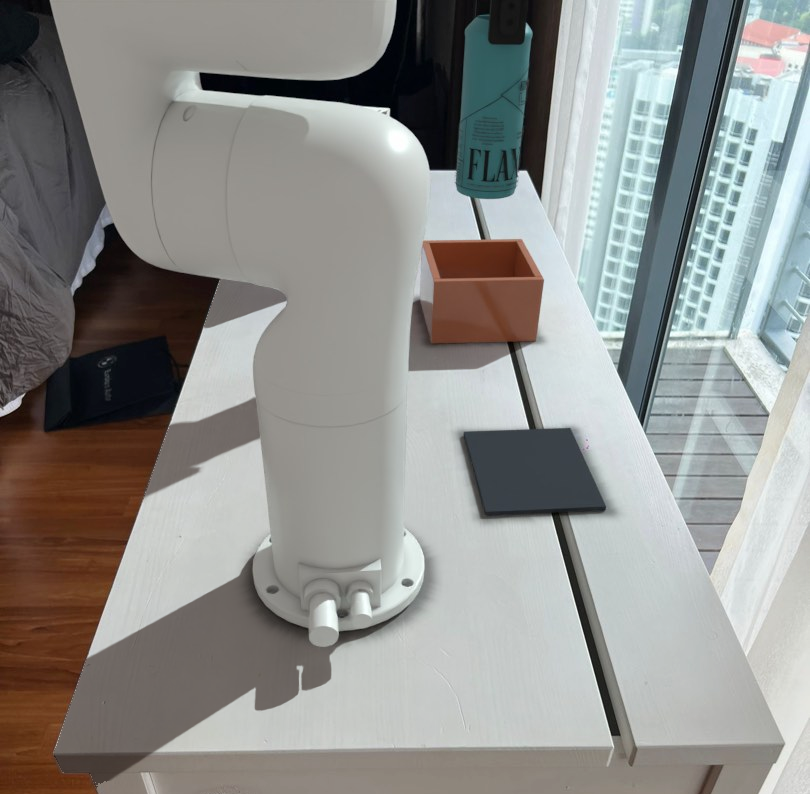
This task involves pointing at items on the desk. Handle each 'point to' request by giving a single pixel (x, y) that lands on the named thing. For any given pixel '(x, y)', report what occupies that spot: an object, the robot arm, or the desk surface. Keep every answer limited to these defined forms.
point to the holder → (480, 291)
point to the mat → (531, 472)
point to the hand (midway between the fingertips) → (498, 35)
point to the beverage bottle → (491, 113)
